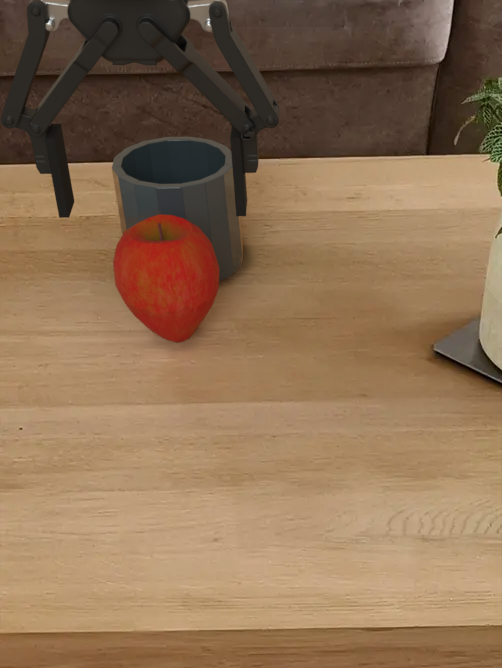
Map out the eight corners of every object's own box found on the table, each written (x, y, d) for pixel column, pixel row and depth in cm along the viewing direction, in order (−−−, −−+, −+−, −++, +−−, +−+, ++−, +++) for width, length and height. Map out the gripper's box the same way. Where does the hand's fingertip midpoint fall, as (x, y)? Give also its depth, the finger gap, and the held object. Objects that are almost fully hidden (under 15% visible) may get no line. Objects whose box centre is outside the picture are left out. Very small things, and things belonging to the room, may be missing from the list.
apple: (129, 311, 102) (110, 199, 96) (227, 307, 103) (215, 195, 97) (121, 366, 96) (100, 249, 89) (225, 361, 97) (212, 245, 90)
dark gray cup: (107, 277, 107) (89, 176, 101) (161, 226, 115) (148, 129, 109) (213, 297, 105) (201, 195, 98) (261, 243, 113) (253, 146, 106)
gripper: (-87, -62, 75) (-18, 233, 88) (304, -56, 77) (313, 230, 91) (-59, -93, 81) (2, 188, 94) (304, -87, 83) (313, 186, 97)
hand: (155, 209), depth 92 cm, fingers open, 13 cm apart
